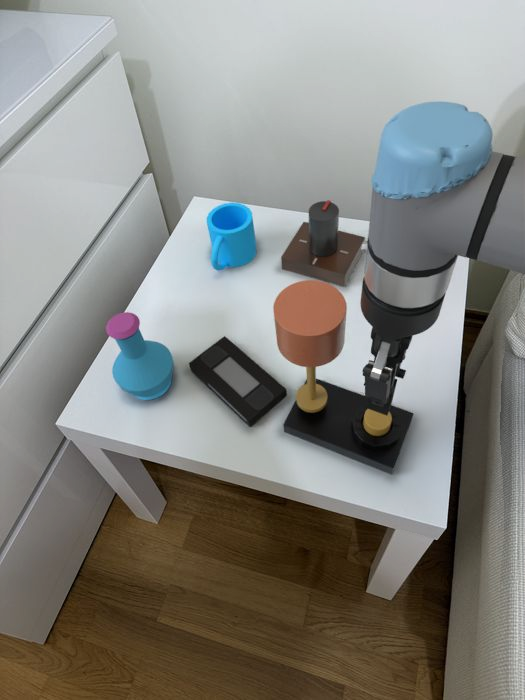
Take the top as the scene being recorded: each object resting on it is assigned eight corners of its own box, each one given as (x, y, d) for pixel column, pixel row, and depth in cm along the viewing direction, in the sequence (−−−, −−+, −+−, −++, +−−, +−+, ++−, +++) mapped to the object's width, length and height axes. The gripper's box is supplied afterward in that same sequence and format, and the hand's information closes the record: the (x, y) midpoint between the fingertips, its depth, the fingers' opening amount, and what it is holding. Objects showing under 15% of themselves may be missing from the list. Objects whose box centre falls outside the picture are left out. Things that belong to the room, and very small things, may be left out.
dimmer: (331, 259, 90) (332, 222, 83) (304, 252, 91) (303, 215, 84) (341, 241, 92) (343, 203, 85) (315, 234, 94) (315, 196, 87)
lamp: (348, 386, 73) (357, 291, 57) (327, 432, 69) (330, 345, 53) (297, 368, 76) (291, 272, 60) (274, 412, 72) (261, 322, 56)
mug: (225, 233, 101) (218, 199, 94) (263, 242, 98) (259, 207, 92) (197, 276, 94) (188, 242, 88) (237, 286, 92) (231, 252, 85)
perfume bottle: (131, 356, 85) (100, 295, 73) (185, 359, 84) (162, 298, 71) (114, 404, 80) (77, 348, 68) (171, 409, 78) (144, 352, 66)
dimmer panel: (364, 249, 95) (365, 236, 92) (344, 287, 90) (345, 274, 87) (303, 233, 98) (303, 220, 96) (281, 269, 94) (280, 256, 91)
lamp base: (411, 420, 74) (415, 406, 71) (391, 475, 69) (395, 463, 66) (308, 383, 79) (308, 368, 76) (283, 431, 74) (282, 418, 71)
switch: (393, 418, 70) (395, 410, 69) (385, 440, 68) (386, 433, 67) (368, 409, 71) (369, 401, 70) (359, 430, 70) (360, 423, 68)
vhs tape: (250, 427, 75) (248, 421, 74) (190, 370, 82) (188, 363, 81) (286, 395, 78) (286, 389, 76) (226, 343, 85) (224, 335, 83)
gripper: (387, 225, 52) (368, 359, 71) (339, 320, 45) (332, 438, 64) (464, 244, 49) (422, 377, 68) (425, 346, 43) (391, 462, 62)
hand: (378, 407), depth 66 cm, fingers closed
